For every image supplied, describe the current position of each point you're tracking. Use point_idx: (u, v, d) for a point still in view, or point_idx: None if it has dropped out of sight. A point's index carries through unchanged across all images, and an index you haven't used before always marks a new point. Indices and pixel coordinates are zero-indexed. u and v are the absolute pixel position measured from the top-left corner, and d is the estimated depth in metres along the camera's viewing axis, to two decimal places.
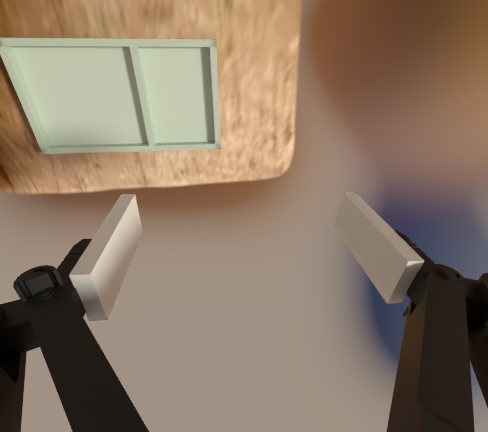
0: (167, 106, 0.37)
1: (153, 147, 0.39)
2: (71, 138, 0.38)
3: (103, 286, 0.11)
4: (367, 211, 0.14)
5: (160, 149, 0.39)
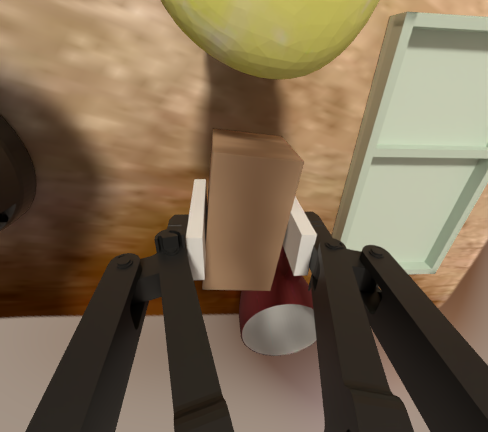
0: (449, 118, 0.24)
1: None
2: (427, 242, 0.32)
3: (203, 250, 0.13)
4: None
5: None
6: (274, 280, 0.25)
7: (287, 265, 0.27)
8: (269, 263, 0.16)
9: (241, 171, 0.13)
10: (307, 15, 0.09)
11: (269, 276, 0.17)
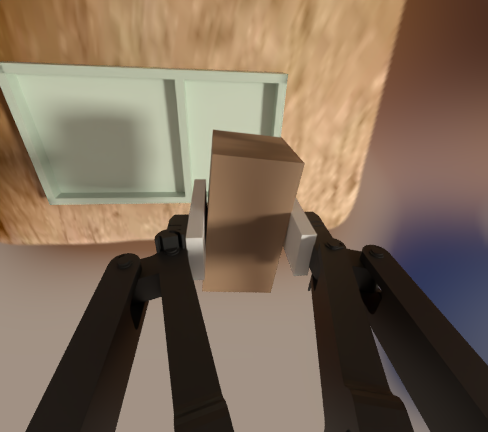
0: None
1: (190, 199, 0.31)
2: (87, 185, 0.30)
3: (203, 250, 0.13)
4: None
5: None
6: None
7: None
8: (269, 265, 0.16)
9: (241, 173, 0.13)
10: None
11: (270, 278, 0.16)
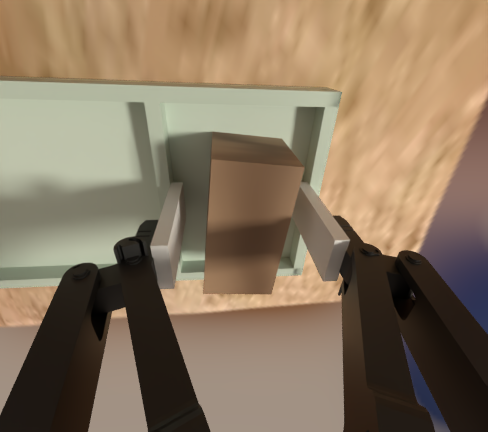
0: None
1: (178, 275, 0.20)
2: (19, 257, 0.20)
3: (172, 258, 0.12)
4: (313, 198, 0.16)
5: (191, 278, 0.21)
6: None
7: None
8: (270, 267, 0.16)
9: (241, 177, 0.12)
10: None
11: (270, 280, 0.16)
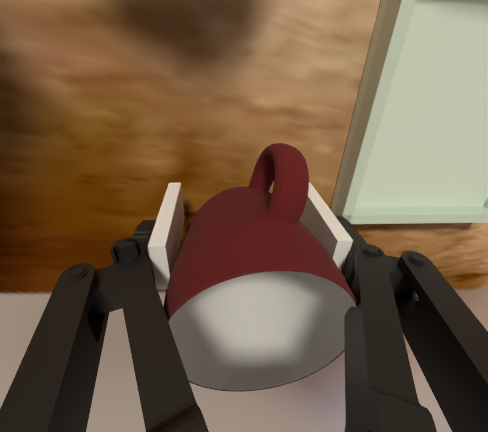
0: None
1: None
2: None
3: (170, 259, 0.12)
4: (315, 198, 0.16)
5: None
6: (240, 222, 0.10)
7: None
8: None
9: None
10: None
11: None
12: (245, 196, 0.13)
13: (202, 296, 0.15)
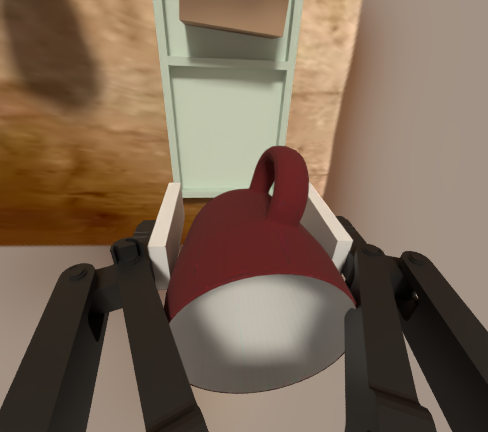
0: None
1: (290, 63, 0.27)
2: None
3: (170, 259, 0.12)
4: (315, 198, 0.16)
5: (294, 53, 0.27)
6: (240, 225, 0.10)
7: None
8: None
9: None
10: None
11: None
12: (245, 198, 0.13)
13: (202, 298, 0.15)
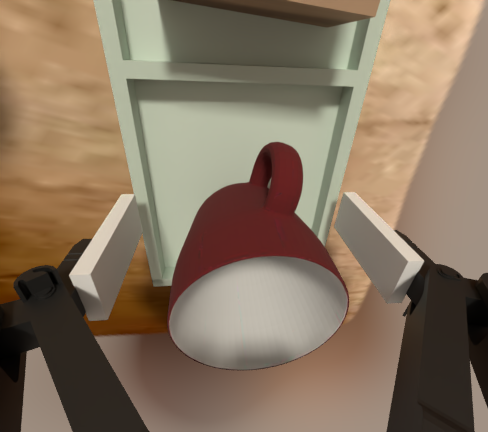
0: None
1: (361, 74, 0.14)
2: None
3: (103, 286, 0.11)
4: (367, 211, 0.14)
5: (372, 54, 0.14)
6: (240, 214, 0.11)
7: None
8: None
9: None
10: None
11: None
12: (245, 191, 0.14)
13: (205, 285, 0.16)
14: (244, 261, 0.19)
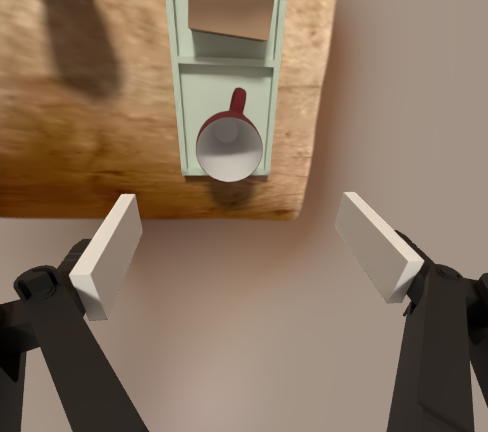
0: None
1: (276, 62, 0.34)
2: None
3: (103, 286, 0.11)
4: (367, 211, 0.14)
5: (280, 53, 0.33)
6: (222, 112, 0.31)
7: None
8: None
9: (195, 11, 0.27)
10: None
11: None
12: None
13: (209, 157, 0.35)
14: (228, 155, 0.38)
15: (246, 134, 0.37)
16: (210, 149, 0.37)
